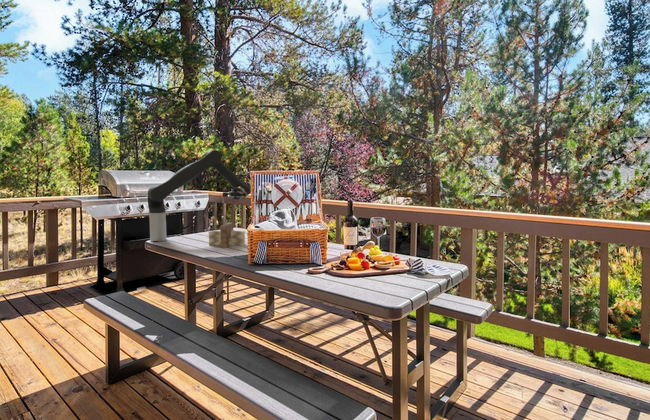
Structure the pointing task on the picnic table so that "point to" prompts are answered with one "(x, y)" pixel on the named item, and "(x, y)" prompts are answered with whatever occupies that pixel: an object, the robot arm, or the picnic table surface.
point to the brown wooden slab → (226, 234)
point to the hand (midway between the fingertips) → (232, 195)
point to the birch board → (235, 239)
